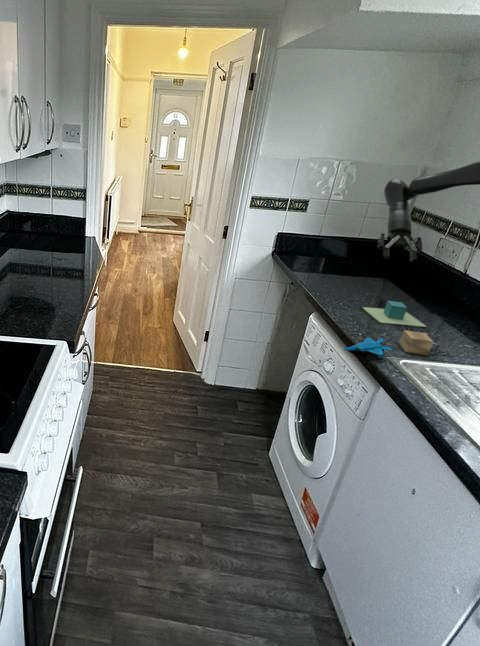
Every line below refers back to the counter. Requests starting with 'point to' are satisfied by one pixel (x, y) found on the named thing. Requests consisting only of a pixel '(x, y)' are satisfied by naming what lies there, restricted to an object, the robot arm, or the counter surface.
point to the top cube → (395, 310)
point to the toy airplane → (370, 347)
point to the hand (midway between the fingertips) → (399, 259)
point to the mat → (382, 318)
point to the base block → (415, 342)
